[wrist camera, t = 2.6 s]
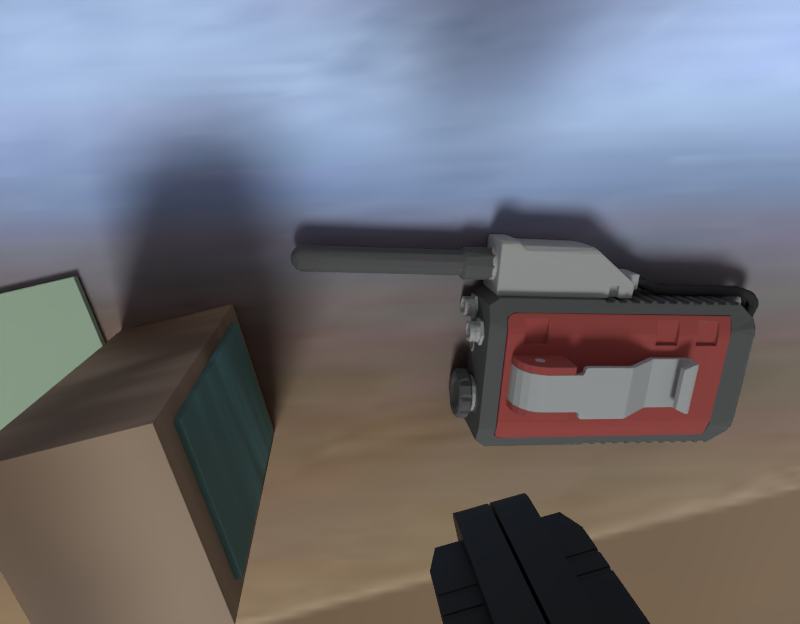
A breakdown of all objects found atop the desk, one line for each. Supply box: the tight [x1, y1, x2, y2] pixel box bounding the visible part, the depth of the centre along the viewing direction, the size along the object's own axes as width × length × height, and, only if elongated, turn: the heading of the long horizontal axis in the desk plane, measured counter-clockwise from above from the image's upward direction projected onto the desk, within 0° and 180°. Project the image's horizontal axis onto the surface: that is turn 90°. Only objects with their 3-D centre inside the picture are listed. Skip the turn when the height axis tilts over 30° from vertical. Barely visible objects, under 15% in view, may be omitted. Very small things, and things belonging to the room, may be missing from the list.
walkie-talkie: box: [291, 234, 758, 446], centre depth 21 cm, size 9×4×20 cm
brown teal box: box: [0, 304, 275, 624], centre depth 17 cm, size 5×6×10 cm
